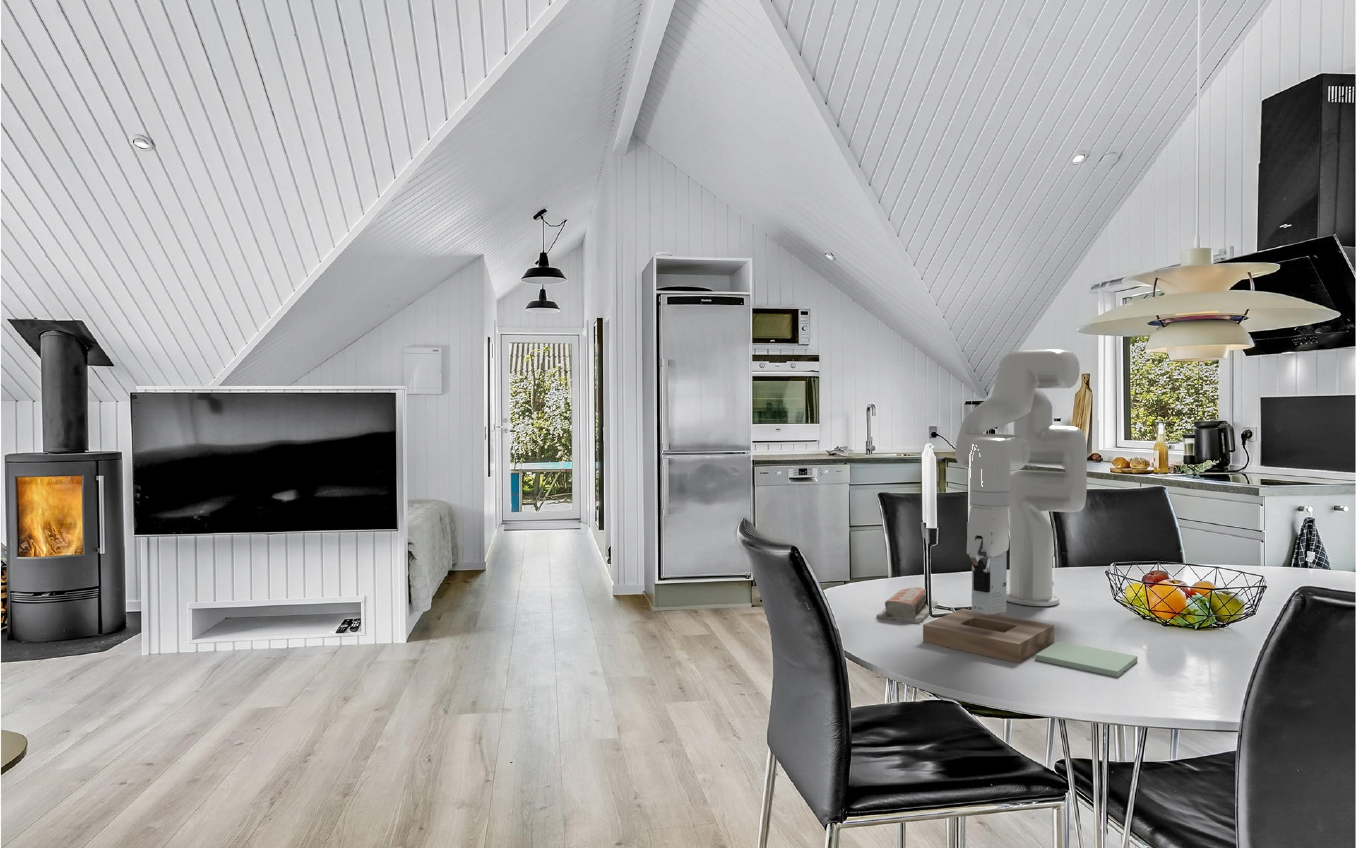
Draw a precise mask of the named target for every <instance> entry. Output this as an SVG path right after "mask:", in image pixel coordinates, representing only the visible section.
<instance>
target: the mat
mask: <svg viewBox="0 0 1356 848" xmlns="http://www.w3.org/2000/svg"><path fill="white" fill-rule="evenodd" d="M1034 655H1035V657H1034V658H1035V661H1039V662H1044V663H1049V664H1055V665H1059V666H1061V667H1062V666H1063V667H1066V668H1067V667H1068V668H1071V669H1077V670H1082V671H1087V672H1092V673H1094V674H1095V673H1097V674H1099V675H1100V674H1101V675H1106V676H1111V677H1114V676H1115V677H1114V678H1119V677H1120V676H1121V675H1123V674H1124V673H1125V672H1126V671H1127V669H1128V670H1129V669H1130V668H1132V667H1133V666H1134V665H1135V664H1137V662H1138V657H1139V656H1138V655H1134V654H1128V653H1122V652H1118V651H1113V650H1108V649H1103V648H1098V647H1097V648H1095V647H1091V646H1087V645H1083V644H1082V645H1081V644H1076V643H1070V642H1066V641H1065V642H1064V641H1060V640H1058V641H1056V642H1054V643H1052V644H1050V645H1049V646H1047V647H1045V648H1044V649H1042V650H1040V651H1039V652H1037V653H1035V654H1034ZM1132 665H1133V666H1132ZM1124 671H1125V672H1124ZM1118 676H1119V677H1118Z"/></svg>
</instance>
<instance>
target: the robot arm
mask: <svg viewBox="0 0 1356 848" xmlns="http://www.w3.org/2000/svg"><path fill="white" fill-rule="evenodd" d="M998 365H999V366H998V369H997V374H996V377H995V380H994V385H993V388H992V392H991V397H989V398H987V399H986V400H984V401H983V402H981V403H979V404H978V405H977V406H976V407H975V408H973V409H972V410H971V411H970V412H969V413H968V414H967V415H966V416H965V417H964V419H963V420H962V423H961V425H960V428H959V432H958V436H957V439H956V444H955V447H954V451H955V452H954V454H955V456H954V457H955V460H956V462H957V464H958V465H959V466H961V468H964V469H967V470H970V469H969V454H970V452H971V450H972V444H974V446H973V450H972V454H971V467H970V468H971V478H970V477H969V507H970V509H969V512H968V513H969V514H968V515H969V516H968V521H967V522H968V523H967V533H966V534H967V535H966V537H967V540H966V554H967V555H968V556H969V559H970V561H971V566H972V565H973V568H972V567H971V570H972V569H973V589H974V590H975V591H980V592H986V593H988V592H990V572H988V570H989V565H990V559H991V558H993V557H996V556H998V555H1000V554H1002V553H1003V552H1006V553H1007V554H1008V552H1007V551H1008V550H1009V590H1006V598H1007V599H1006V602H1009V603H1012V604H1016V605H1022V606H1029V607H1052V606H1057V605H1058V604H1059V603H1060V598H1059V596H1057V595H1056V594H1053V587H1054V586H1055V582H1054V581H1053V547H1054V546H1053V545H1054V544H1053V543H1054V541H1053V539H1054V532H1053V527H1052V525H1051V523H1050V522H1049V520H1048V519H1047V517H1046V516H1045V515H1044V513H1042V512H1056V513H1058V512H1059V513H1077V512H1080V511H1082V510H1083V509H1084V508H1085V506H1086V503H1087V502H1086V501H1087V490H1088V489H1087V488H1088V483H1087V482H1088V481H1087V479H1088V478H1087V477H1088V475H1087V474H1088V472H1087V471H1088V447H1087V439H1086V435H1085V433H1084V432H1083V430H1082V429H1081V428H1079V427H1078V426H1072V425H1054V424H1053V404H1052V402H1051V400H1050V399H1049V397H1048V396H1047V395H1046V394H1045V392H1043V391H1042V389H1070V388H1073V387H1074V386H1075V385H1076V384H1077V382H1078V380H1079V377H1080V373H1081V372H1080V363H1079V359H1078V357H1077V356H1076V354H1075V353H1074V352H1072V351H1069V350H1065V349H1063V350H1062V349H1058V348H1057V349H1053V348H1052V349H1023V350H1016V351H1015V350H1014V351H1011V352H1009V353H1007V354H1005V355H1004V356H1003V357H1002V358H1001V360H1000V361H999V364H998ZM1011 423H1013V434H1005V433H1003V434H999V433H985V432H987V431H990V430H992V429H995V428H997V427H1001V426H1005V425H1008V424H1011ZM975 445H977V447H976V446H975ZM974 447H975V448H976V450H975V451H974ZM977 449H979V451H978V450H977ZM973 452H974V455H973ZM979 453H980V455H981V457H979ZM972 455H973V461H972ZM1026 465H1034V466H1057V467H1058V466H1060V467H1062V468H1063V469H1064V470H1065V471H1049V470H1035V469H1034V470H1032V469H1027V470H1026V469H1025V470H1024V469H1023V468H1025V466H1026ZM981 469H982V481H983V483H982V485H983V487H982V486H981ZM1022 469H1023V470H1022ZM1011 472H1013V473H1011ZM1008 510H1009V511H1008ZM980 553H983V554H986V556H982V555H979V554H980ZM980 559H981V560H980ZM982 560H985V563H983V561H982Z"/></svg>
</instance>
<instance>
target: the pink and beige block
mask: <svg viewBox="0 0 1356 848" xmlns="http://www.w3.org/2000/svg"><path fill="white" fill-rule="evenodd" d="M926 590H927V589H924V588H923V587H909V588H902V589H900V590H898V591H897V592H896V593H895V594H893V595H892V596H890V598H888V599H887V600H885V601H884V606H885V608H883V609H882V610H881V611H880V612H879V613H878V614H876V618H877V619H879V620H886V621H893V622H894V621H897V622H903V623H911V624H918V623H921V624H922V623H923V622H924V621H925V620H927V618H928V617H929V616H930V615H929V608H928V606H927V604H926ZM931 601H932V608H933V609H934V608H935V606H937V607H938V604H939V603H938V602H939V601H938V600H931Z"/></svg>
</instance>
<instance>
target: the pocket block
mask: <svg viewBox="0 0 1356 848" xmlns="http://www.w3.org/2000/svg"><path fill="white" fill-rule="evenodd" d="M924 642H926V643H925V644H929V643H930V644H929V645H934V646H938V645H939V646H938V647H943V648H947V647H949V648H948V649H953V650H958V651H961V650H962V651H963V652H966V653H970V652H972V654H976V655H980V654H981V655H980V656H984V657H985V656H986V657H989V658H994V659H999V660H1004V661H1007V662H1013V663H1017V664H1021V662H1024V661H1025V660H1027V659H1028V658H1030V657H1032V656H1033V655H1036V654H1037V653H1039V652H1041V651H1042V650H1044V649H1046V648H1047V647H1049V646H1051V645H1052V644H1054V643H1055V625H1054V624H1050V623H1046V622H1038V621H1034V620H1029V619H1023V618H1017V617H1013V616H1007V615H1006V616H1005V615H1001V614H997V613H996V614H991V615H986V614H982V613H977V612H974V611H972V609H967V608H959V609H958V610H956V611H953V612H950V613H949V614H946V615H943V616H941V617H939V618H937V619H934V620H931V621H929V622H927V623H925V624H922V643H924Z"/></svg>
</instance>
